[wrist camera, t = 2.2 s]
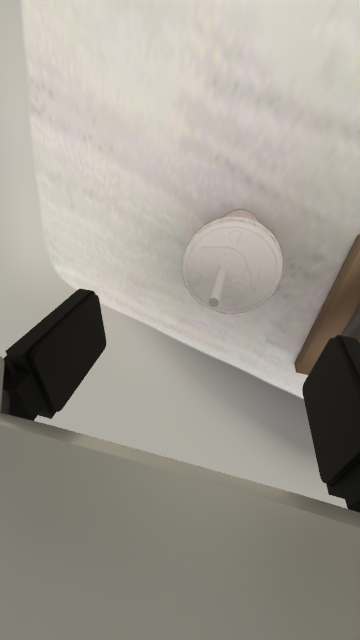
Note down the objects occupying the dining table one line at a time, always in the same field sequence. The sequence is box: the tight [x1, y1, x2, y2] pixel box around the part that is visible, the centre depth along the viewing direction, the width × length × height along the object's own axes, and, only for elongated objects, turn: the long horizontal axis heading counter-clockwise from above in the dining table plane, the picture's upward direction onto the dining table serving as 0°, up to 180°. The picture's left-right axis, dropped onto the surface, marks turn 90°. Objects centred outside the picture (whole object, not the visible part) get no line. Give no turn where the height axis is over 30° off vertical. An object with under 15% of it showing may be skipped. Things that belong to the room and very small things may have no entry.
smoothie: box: [182, 210, 283, 314], centre depth 17 cm, size 6×6×14 cm
